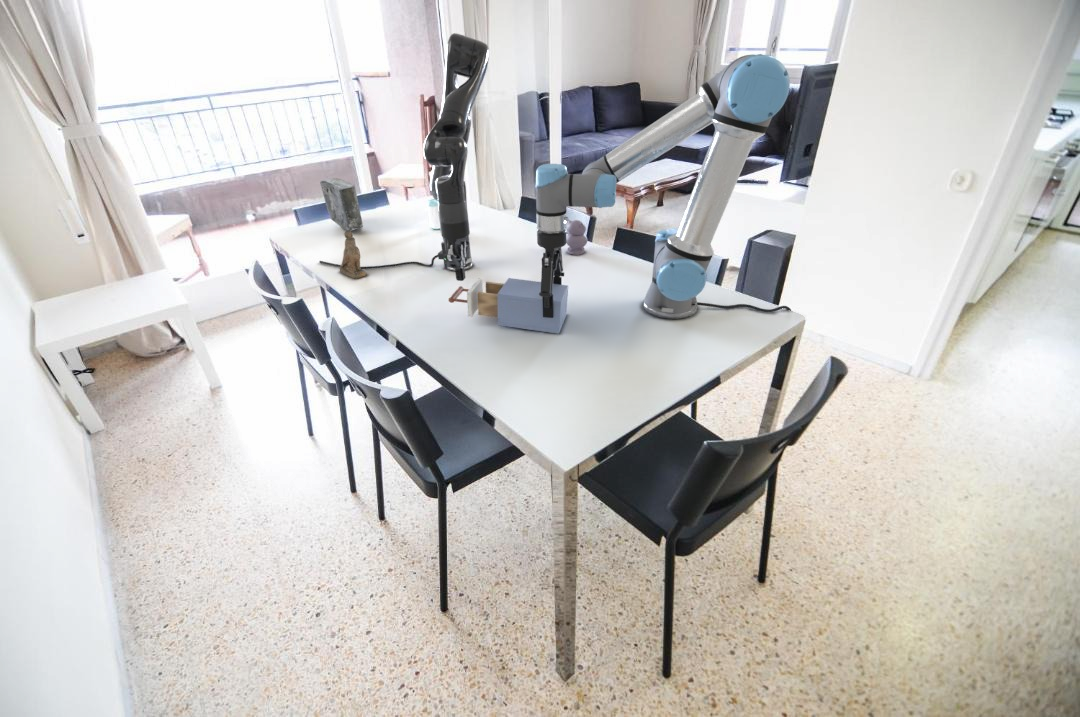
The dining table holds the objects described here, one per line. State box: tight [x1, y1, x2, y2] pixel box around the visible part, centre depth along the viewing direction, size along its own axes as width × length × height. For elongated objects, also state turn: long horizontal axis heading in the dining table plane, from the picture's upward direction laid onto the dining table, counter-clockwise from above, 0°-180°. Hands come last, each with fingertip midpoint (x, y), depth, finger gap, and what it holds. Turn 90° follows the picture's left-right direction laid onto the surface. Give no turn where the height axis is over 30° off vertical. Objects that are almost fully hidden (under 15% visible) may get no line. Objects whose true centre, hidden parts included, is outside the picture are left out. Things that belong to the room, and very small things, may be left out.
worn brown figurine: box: [339, 230, 367, 280], centre depth 174 cm, size 12×6×18 cm, turn 43°
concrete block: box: [319, 177, 364, 232], centre depth 222 cm, size 27×9×20 cm, turn 36°
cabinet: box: [497, 277, 569, 335], centre depth 139 cm, size 17×11×10 cm, turn 77°
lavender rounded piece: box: [566, 219, 588, 256], centre depth 186 cm, size 8×8×12 cm
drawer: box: [448, 277, 505, 319], centre depth 141 cm, size 22×10×8 cm, turn 77°
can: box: [426, 198, 441, 230], centre depth 220 cm, size 7×7×12 cm
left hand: (461, 279), depth 139 cm, fingers closed
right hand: (552, 307), depth 138 cm, fingers closed on cabinet, 11 cm apart
